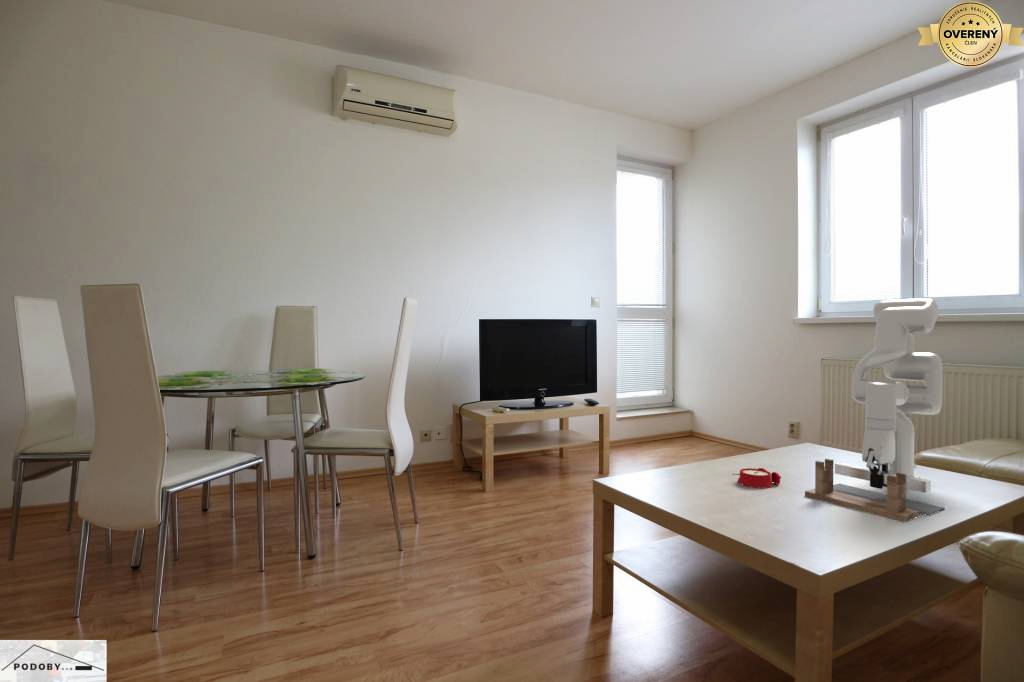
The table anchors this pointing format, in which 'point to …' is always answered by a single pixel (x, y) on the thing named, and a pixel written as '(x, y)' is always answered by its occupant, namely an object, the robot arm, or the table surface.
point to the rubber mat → (881, 497)
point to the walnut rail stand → (891, 509)
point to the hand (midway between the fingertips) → (879, 486)
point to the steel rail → (864, 474)
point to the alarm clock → (758, 477)
